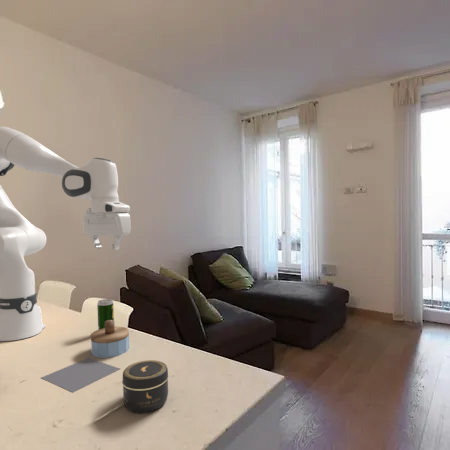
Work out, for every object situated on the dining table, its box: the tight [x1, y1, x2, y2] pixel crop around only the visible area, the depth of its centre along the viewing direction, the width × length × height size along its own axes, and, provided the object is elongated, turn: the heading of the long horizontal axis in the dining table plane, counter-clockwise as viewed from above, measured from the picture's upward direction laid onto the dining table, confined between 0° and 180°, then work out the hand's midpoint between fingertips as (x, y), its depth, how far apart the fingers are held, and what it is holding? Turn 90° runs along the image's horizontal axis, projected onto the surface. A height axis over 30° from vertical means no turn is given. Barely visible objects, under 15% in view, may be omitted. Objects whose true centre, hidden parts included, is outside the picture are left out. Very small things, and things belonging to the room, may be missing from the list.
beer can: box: [96, 298, 115, 330], centre depth 121 cm, size 5×5×12 cm
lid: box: [90, 319, 130, 343], centre depth 104 cm, size 11×11×5 cm
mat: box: [40, 357, 121, 393], centre depth 89 cm, size 14×14×1 cm
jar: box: [122, 359, 169, 414], centre depth 76 cm, size 10×10×8 cm
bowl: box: [90, 334, 130, 359], centre depth 104 cm, size 11×11×5 cm
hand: (106, 249), depth 113 cm, fingers open, 8 cm apart
